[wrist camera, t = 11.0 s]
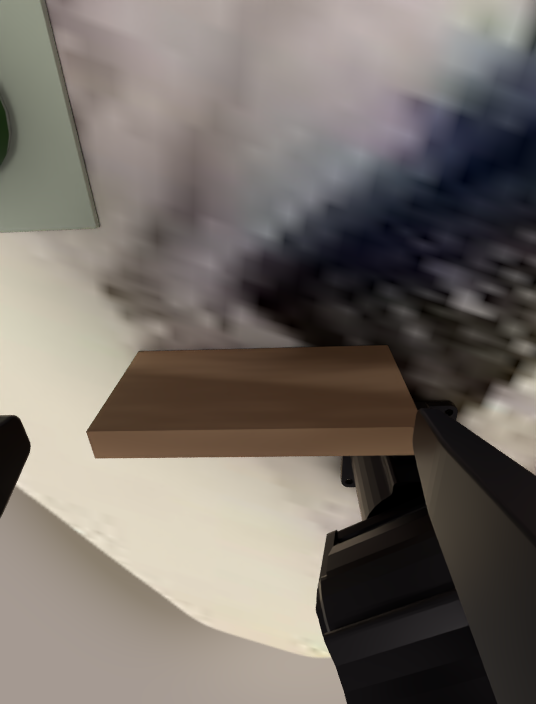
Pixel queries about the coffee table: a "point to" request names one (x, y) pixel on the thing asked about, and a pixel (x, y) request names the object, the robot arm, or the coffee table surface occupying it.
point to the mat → (39, 130)
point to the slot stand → (257, 404)
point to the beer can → (4, 130)
